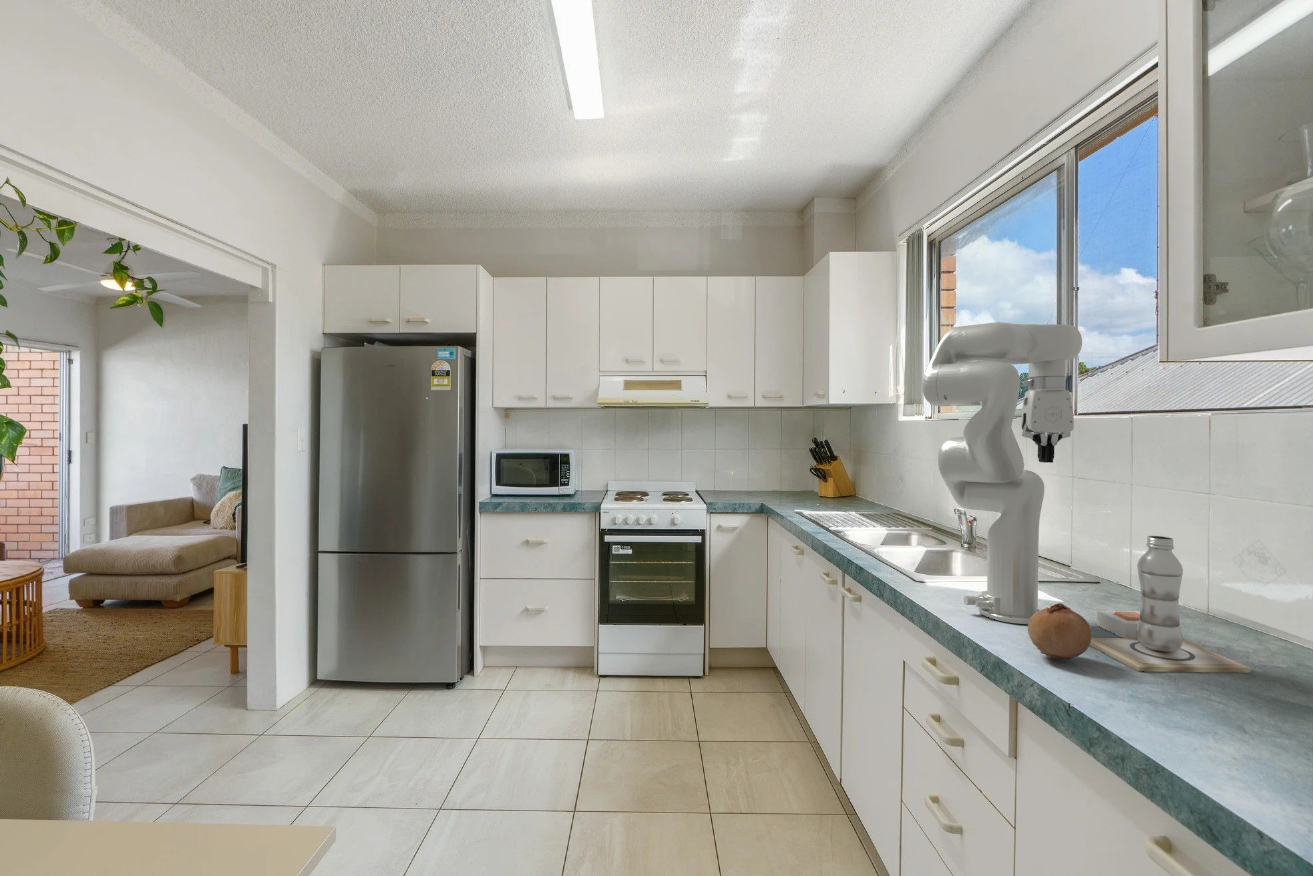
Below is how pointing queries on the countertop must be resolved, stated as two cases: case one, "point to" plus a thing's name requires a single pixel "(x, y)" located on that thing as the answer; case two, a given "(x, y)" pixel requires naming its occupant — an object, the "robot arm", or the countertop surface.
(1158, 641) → the plastic bottle
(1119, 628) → the button housing
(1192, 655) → the board
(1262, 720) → the countertop surface
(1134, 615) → the button
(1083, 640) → the onion
